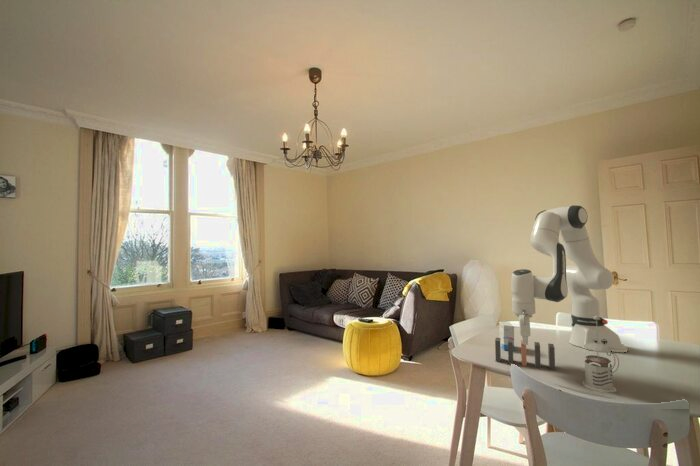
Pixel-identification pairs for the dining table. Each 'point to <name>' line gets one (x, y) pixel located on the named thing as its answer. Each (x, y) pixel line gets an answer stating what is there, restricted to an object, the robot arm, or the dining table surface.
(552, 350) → the domino
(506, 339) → the ink box
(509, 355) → the domino
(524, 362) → the domino
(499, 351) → the domino
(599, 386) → the french press
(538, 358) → the domino
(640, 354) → the dining table surface
